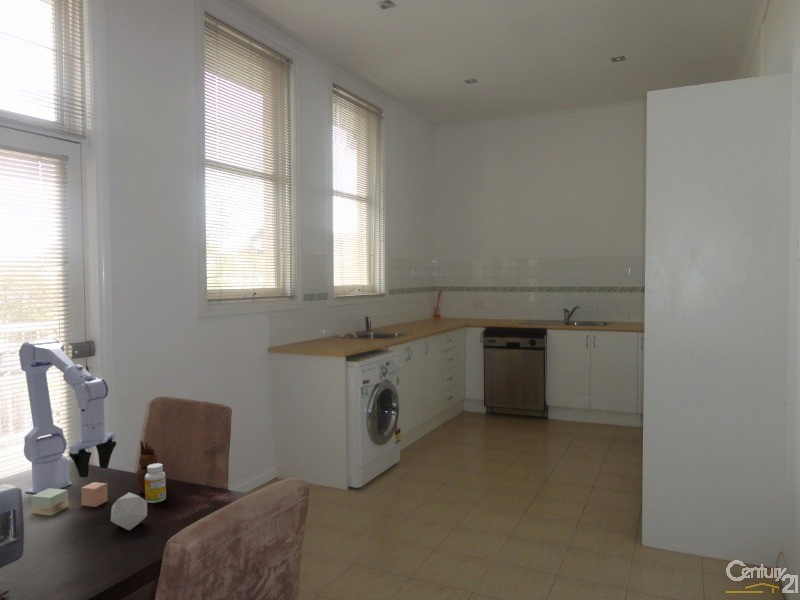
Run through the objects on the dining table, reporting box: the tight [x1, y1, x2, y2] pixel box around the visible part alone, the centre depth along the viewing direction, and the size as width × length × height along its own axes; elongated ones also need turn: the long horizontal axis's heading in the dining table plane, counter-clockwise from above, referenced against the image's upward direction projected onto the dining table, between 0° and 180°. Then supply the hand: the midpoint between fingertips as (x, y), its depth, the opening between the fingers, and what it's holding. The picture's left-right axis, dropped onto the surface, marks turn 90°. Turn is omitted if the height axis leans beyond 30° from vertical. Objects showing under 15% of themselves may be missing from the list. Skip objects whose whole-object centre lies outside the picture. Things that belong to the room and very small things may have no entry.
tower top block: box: [30, 488, 69, 507], centre depth 159 cm, size 6×6×2 cm
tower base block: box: [31, 498, 69, 517], centre depth 159 cm, size 6×6×2 cm
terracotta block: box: [80, 481, 108, 508], centre depth 164 cm, size 4×4×5 cm
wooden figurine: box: [135, 440, 158, 494], centre depth 172 cm, size 7×6×15 cm
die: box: [110, 491, 148, 532], centre depth 149 cm, size 8×9×10 cm
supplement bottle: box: [144, 462, 167, 504], centre depth 166 cm, size 5×5×10 cm
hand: (94, 472), depth 164 cm, fingers open, 7 cm apart
